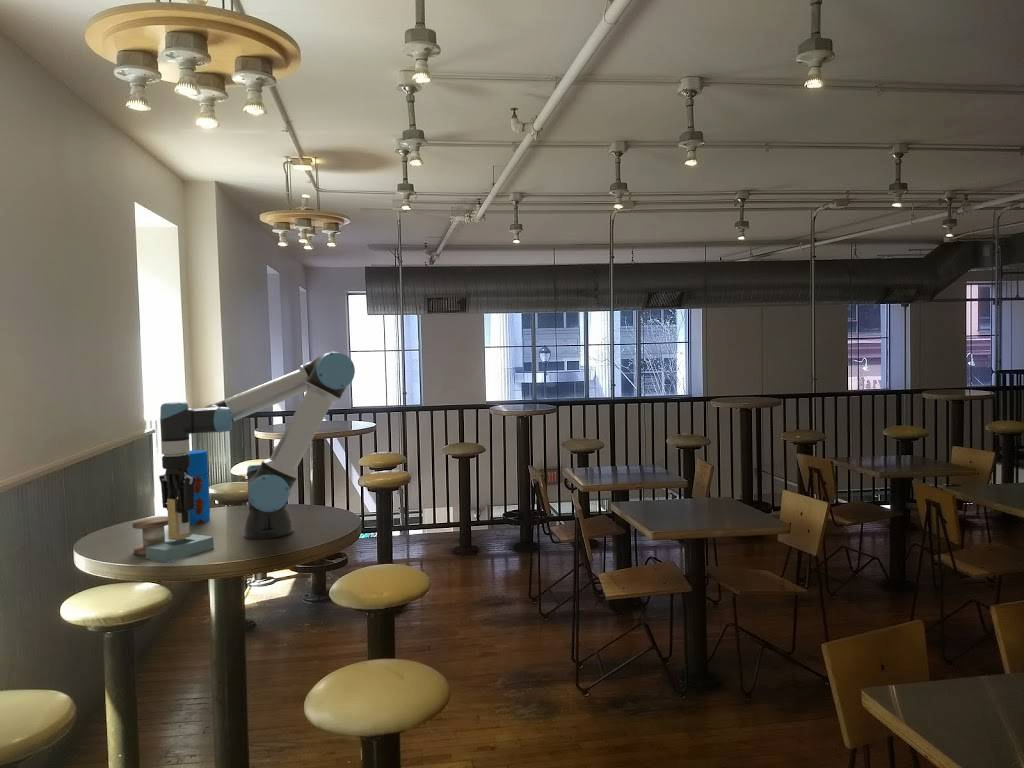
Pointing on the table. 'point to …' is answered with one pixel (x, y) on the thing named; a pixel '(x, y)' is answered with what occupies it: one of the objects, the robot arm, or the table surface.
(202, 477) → the thermos
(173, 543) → the notch board
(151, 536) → the spool
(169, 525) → the tab
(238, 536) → the table surface
